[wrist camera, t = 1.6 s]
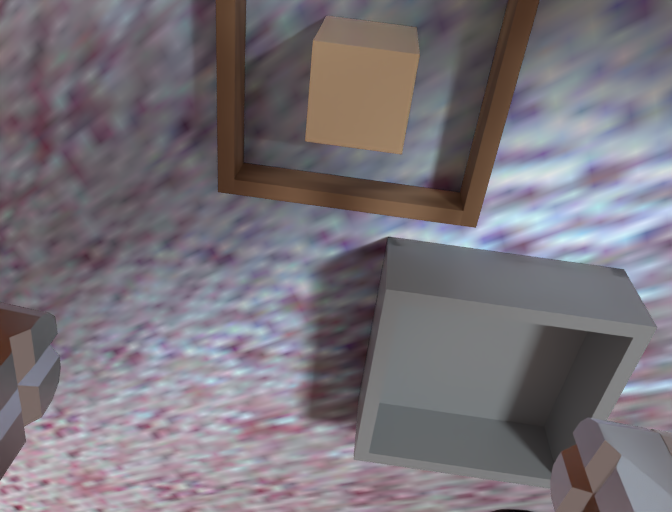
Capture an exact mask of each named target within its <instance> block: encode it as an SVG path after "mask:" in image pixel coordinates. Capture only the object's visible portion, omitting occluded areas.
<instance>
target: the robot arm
mask: <svg viewBox="0 0 672 512" xmlns="http://www.w3.org/2000/svg"><path fill="white" fill-rule="evenodd" d="M56 335H57V327H56V320H55V316H53V315H51V314H50V313H47V312H43V311H38V310H34V309H29V308H24V307H20V306H15V305H11V304H6V303H2V302H0V480H1V479H2V477H3V476H4V474H5V473H6V471H7V469H8V468H9V466H10V465H11V463H12V462H13V460H14V459H15V457H16V456H17V454H18V453H19V451H20V450H21V448H22V447H23V445H24V444H25V442H26V438H25V431H24V426H26V425H28V424H30V423H31V422H33V421H35V420H37V419H39V418H41V417H42V416H43V414H44V413H45V411H46V409H47V408H48V406H49V405H50V403H51V401H52V399H53V396H54V393H55V391H56V388H57V385H58V383H59V376H60V368H61V367H60V356H59V354H58V353H57V352H56V351H55V350H54V349H53V348H52V346H51V345H50V343H51V342H52V341H53V339H54V338H55V336H56ZM573 435H574V438H575V441H576V444H575V445H573V446H571V447H569V448H567V449H565V450H563V451H561V452H560V454H559V456H558V458H557V459H556V461H555V463H554V465H553V468H552V474H551V479H550V490H551V499H552V503H553V507H554V510H555V512H672V432H666V431H661V430H655V429H647V428H643V427H638V426H632V425H627V424H622V423H616V422H611V421H605V420H600V419H595V418H589V417H588V418H586V419H584V420H583V421H581V422H580V423H579V424H578V426H577V427H576V429H575V430H574V432H573Z"/></svg>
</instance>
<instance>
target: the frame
mask: <svg viewBox="0 0 672 512" xmlns="http://www.w3.org/2000/svg"><path fill="white" fill-rule="evenodd" d="M538 4H539V0H508V3H507V7H506V11H505V15H504V19H503V23H502V27H501V31H500V34H499V38H498V42H497V46H496V50H495V54H494V58H493V62H492V66H491V70H490V74H489V78H488V82H487V86H486V90H485V94H484V98H483V102H482V106H481V110H480V114H479V118H478V122H477V126H476V130H475V134H474V138H473V142H472V146H471V150H470V154H469V158H468V162H467V166H466V170H465V174H464V178H463V182H462V186H461V190H460V192H453V191H446V190H439V189H431V188H424V187H417V186H409V185H402V184H395V183H387V182H380V181H373V180H366V179H358V178H351V177H344V176H336V175H329V174H322V173H314V172H307V171H300V170H292V169H285V168H278V167H270V166H263V165H256V164H249V163H244V101H245V36H246V0H216V60H217V144H218V192H221V193H229V194H236V195H243V196H250V197H258V198H265V199H272V200H279V201H287V202H294V203H301V204H308V205H316V206H323V207H330V208H337V209H345V210H352V211H359V212H366V213H374V214H381V215H388V216H395V217H403V218H410V219H417V220H424V221H431V222H439V223H446V224H453V225H460V226H468V227H475V228H476V226H477V222H478V219H479V215H480V211H481V208H482V204H483V201H484V197H485V193H486V190H487V186H488V183H489V179H490V176H491V172H492V168H493V165H494V161H495V158H496V154H497V151H498V147H499V143H500V140H501V136H502V133H503V129H504V126H505V122H506V118H507V115H508V111H509V108H510V104H511V101H512V97H513V93H514V90H515V86H516V83H517V79H518V75H519V72H520V68H521V65H522V61H523V58H524V54H525V50H526V47H527V43H528V40H529V36H530V33H531V29H532V25H533V22H534V18H535V15H536V11H537V8H538Z"/></svg>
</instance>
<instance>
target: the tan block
mask: <svg viewBox="0 0 672 512" xmlns="http://www.w3.org/2000/svg"><path fill="white" fill-rule="evenodd" d="M419 57H420V51H419V42H418V33H417V27H412V26H404V25H396V24H389V23H381V22H373V21H366V20H358V19H351V18H343V17H335V16H328V15H327V16H326V18H325V19H324V21H323V23H322V25H321V27H320V28H319V30H318V32H317V34H316V36H315V38H314V39H313V46H312V59H311V71H310V84H309V97H308V110H307V122H306V135H305V141H306V142H314V143H321V144H328V145H336V146H343V147H351V148H358V149H365V150H373V151H380V152H387V153H395V154H402V151H403V145H404V140H405V134H406V128H407V123H408V117H409V112H410V106H411V101H412V95H413V90H414V84H415V79H416V73H417V68H418V62H419Z"/></svg>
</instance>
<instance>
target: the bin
mask: <svg viewBox="0 0 672 512" xmlns="http://www.w3.org/2000/svg"><path fill="white" fill-rule="evenodd" d="M656 329H657V326H656V324H655V322H654V321H653V319H652V317H651V315H650V314H649V312H648V310H647V309H646V307H645V305H644V303H643V302H642V300H641V298H640V296H639V295H638V293H637V291H636V289H635V288H634V286H633V284H632V283H631V281H630V279H629V277H628V276H627V274H626V272H625V270H624V269H617V268H610V267H603V266H595V265H588V264H581V263H574V262H567V261H559V260H552V259H545V258H538V257H531V256H523V255H516V254H509V253H502V252H495V251H487V250H480V249H473V248H466V247H458V246H451V245H444V244H437V243H430V242H422V241H415V240H408V239H401V238H394V237H388V240H387V245H386V251H385V256H384V262H383V267H382V273H381V278H380V284H379V289H378V295H377V300H376V306H375V311H374V317H373V322H372V328H371V333H370V339H369V344H368V350H367V355H366V361H365V366H364V372H363V377H362V383H361V388H360V394H359V399H358V412H357V424H356V436H355V448H354V460H360V461H366V462H373V463H380V464H387V465H394V466H400V467H407V468H414V469H421V470H428V471H434V472H441V473H448V474H455V475H461V476H468V477H475V478H482V479H489V480H495V481H502V482H509V483H516V484H522V485H529V486H536V487H543V488H550V479H551V474H552V468H553V465H554V463H555V461H556V459H557V458H558V456H559V454H560V452H561V451H563V450H565V449H567V448H569V447H571V446H573V445H575V444H576V441H575V438H574V435H573V432H574V430H575V429H576V427H577V426H578V424H579V423H580V422H581V421H583V420H584V419H586V418H588V417H589V418H595V419H600V420H605V421H606V420H607V418H608V417H609V415H610V413H611V411H612V409H613V408H614V406H615V404H616V402H617V400H618V398H619V397H620V395H621V393H622V391H623V389H624V387H625V386H626V384H627V382H628V380H629V378H630V376H631V375H632V373H633V371H634V369H635V367H636V365H637V364H638V362H639V360H640V358H641V356H642V354H643V353H644V351H645V349H646V347H647V345H648V344H649V342H650V340H651V338H652V336H653V334H654V333H655V331H656Z"/></svg>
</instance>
